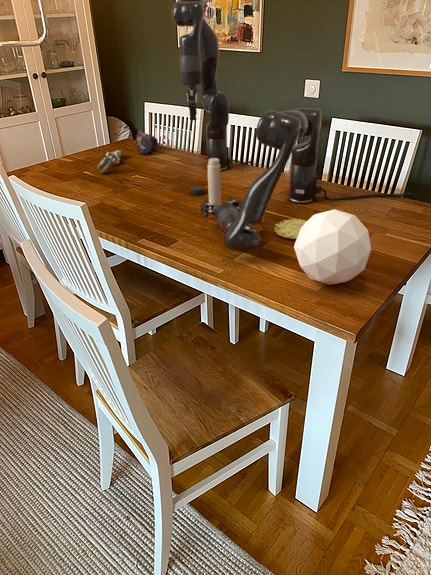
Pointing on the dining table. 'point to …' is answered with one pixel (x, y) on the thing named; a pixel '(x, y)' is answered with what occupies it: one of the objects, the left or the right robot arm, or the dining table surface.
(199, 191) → the lid
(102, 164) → the figurine
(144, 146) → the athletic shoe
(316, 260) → the sphere
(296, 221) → the decorative object
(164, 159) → the dining table surface
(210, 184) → the bottle
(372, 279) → the dining table surface
